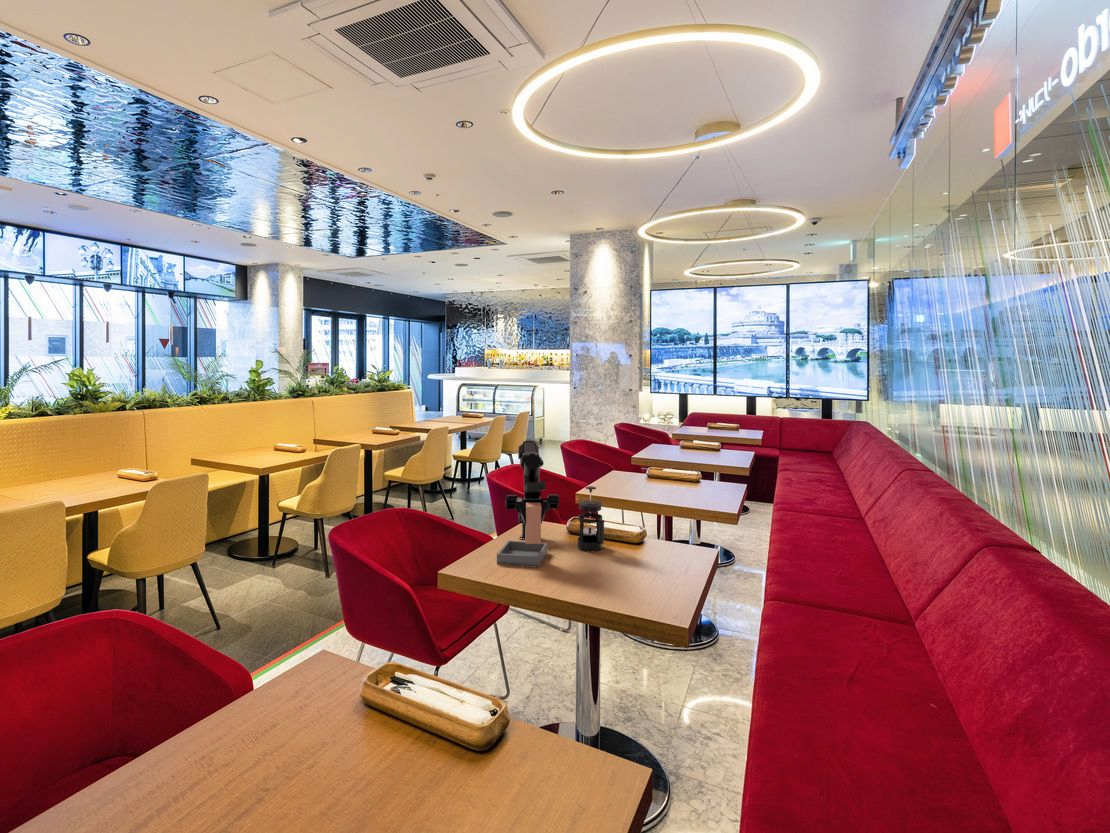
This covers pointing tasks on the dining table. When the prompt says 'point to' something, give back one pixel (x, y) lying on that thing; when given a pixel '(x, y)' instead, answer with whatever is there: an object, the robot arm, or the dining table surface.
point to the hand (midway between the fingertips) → (533, 523)
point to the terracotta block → (533, 523)
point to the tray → (522, 553)
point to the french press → (587, 535)
